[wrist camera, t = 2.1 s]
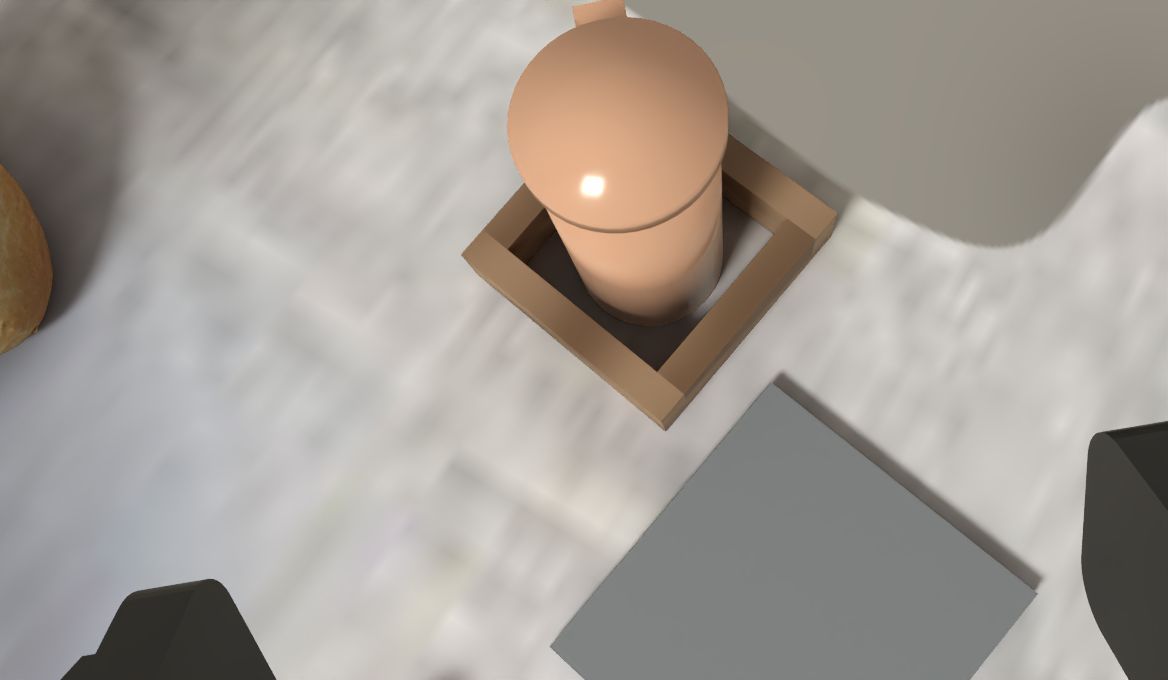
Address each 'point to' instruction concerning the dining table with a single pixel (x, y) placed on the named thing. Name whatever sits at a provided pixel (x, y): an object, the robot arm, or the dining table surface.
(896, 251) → the dining table surface
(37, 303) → the bread roll
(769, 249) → the walnut collar
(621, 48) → the peach column
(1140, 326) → the dining table surface
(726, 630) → the slate mat
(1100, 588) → the robot arm
